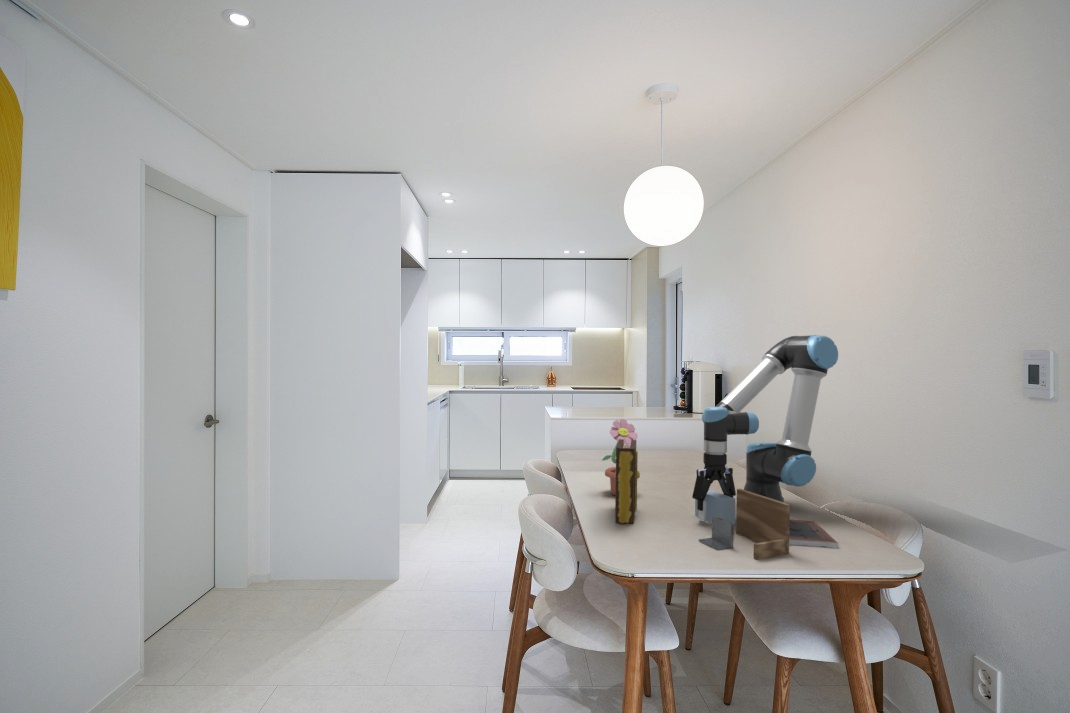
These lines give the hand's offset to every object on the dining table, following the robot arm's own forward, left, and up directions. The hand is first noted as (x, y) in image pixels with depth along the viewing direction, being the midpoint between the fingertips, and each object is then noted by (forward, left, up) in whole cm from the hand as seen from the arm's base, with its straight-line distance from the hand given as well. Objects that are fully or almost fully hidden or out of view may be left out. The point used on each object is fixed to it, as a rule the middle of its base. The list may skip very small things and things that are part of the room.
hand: (714, 518), depth 186 cm
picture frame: (-15, +21, -2) cm, 26 cm away
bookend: (+16, +19, -1) cm, 25 cm away
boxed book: (0, 0, -1) cm, 1 cm away
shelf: (+8, +23, -1) cm, 24 cm away
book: (+25, -16, -1) cm, 30 cm away
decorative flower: (+12, -40, -1) cm, 42 cm away
